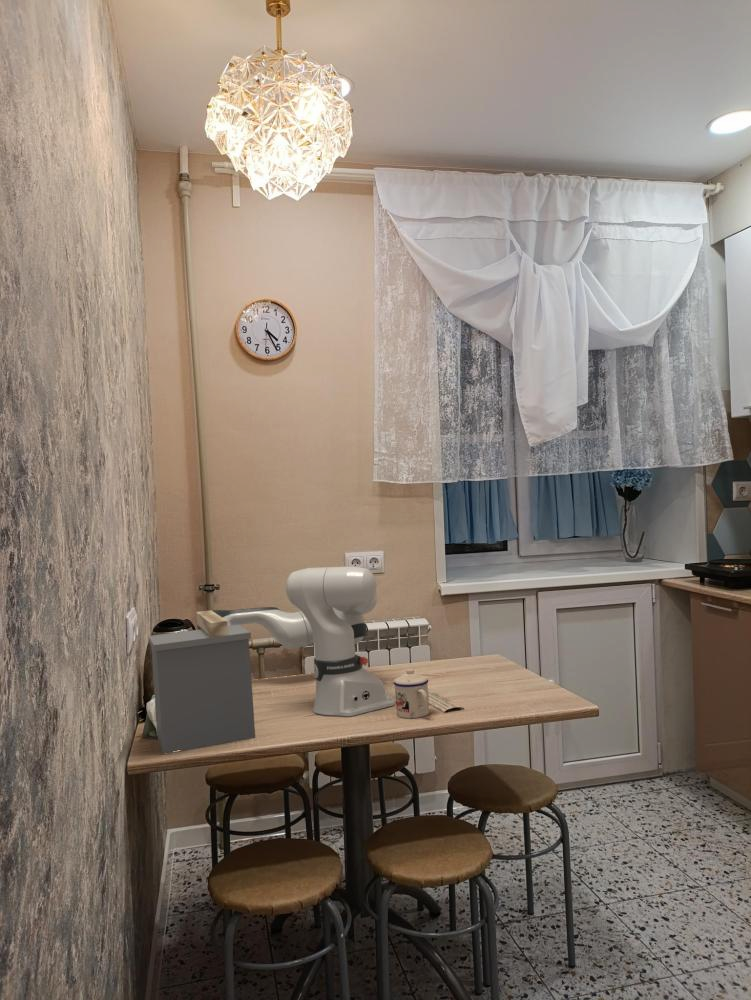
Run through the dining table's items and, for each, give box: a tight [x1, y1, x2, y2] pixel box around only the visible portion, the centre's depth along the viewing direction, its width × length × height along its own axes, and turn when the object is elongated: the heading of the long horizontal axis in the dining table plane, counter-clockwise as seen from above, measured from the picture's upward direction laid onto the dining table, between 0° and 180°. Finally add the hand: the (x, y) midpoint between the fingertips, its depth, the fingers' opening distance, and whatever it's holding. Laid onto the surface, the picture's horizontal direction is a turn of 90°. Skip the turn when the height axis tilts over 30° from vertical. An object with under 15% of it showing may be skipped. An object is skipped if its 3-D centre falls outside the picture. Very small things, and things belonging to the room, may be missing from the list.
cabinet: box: [147, 625, 256, 755], centre depth 184 cm, size 23×15×26 cm, turn 112°
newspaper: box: [428, 688, 465, 714], centre depth 203 cm, size 24×7×2 cm, turn 20°
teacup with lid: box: [393, 668, 430, 719], centre depth 191 cm, size 12×9×12 cm
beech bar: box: [195, 609, 228, 637], centre depth 190 cm, size 4×24×4 cm, turn 22°
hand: (201, 629), depth 204 cm, fingers open, 8 cm apart
